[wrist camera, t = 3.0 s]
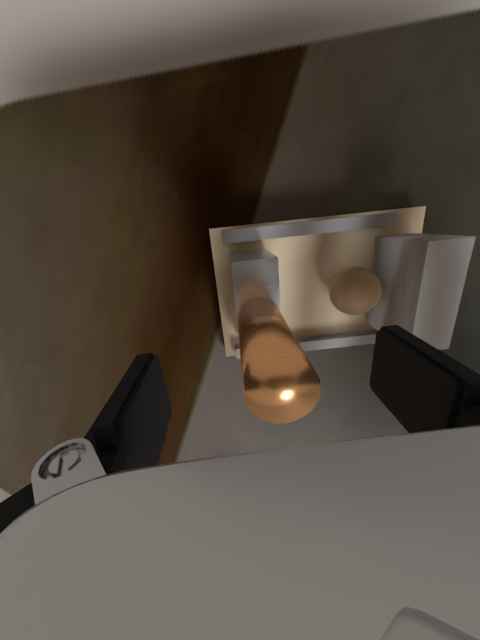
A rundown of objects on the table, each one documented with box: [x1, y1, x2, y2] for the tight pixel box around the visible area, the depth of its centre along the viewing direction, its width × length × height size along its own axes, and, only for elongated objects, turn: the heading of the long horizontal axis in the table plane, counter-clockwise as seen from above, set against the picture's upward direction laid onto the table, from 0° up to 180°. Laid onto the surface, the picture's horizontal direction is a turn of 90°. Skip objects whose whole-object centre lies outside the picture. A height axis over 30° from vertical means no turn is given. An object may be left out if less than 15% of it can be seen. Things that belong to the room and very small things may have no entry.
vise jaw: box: [230, 249, 321, 423], centre depth 16 cm, size 3×8×14 cm, turn 6°
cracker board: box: [209, 206, 476, 359], centre depth 20 cm, size 18×12×8 cm, turn 96°
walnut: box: [329, 267, 382, 315], centre depth 21 cm, size 4×4×4 cm
